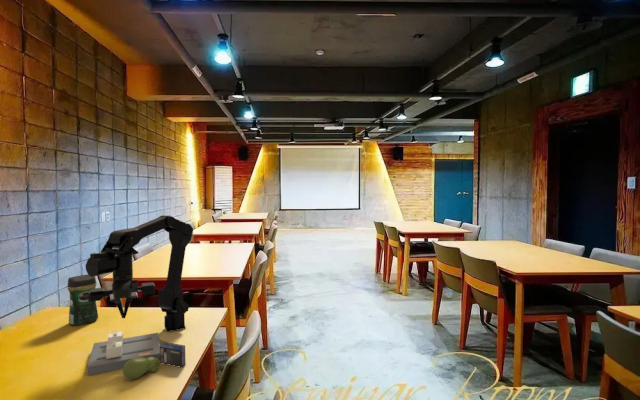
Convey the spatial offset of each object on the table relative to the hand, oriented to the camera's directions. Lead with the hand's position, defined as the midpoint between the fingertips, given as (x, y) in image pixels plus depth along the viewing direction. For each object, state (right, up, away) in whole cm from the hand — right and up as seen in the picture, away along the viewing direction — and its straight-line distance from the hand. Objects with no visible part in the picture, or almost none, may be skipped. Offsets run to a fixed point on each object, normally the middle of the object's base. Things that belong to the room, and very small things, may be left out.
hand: (123, 317), depth 120 cm
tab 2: (+2, -8, -9) cm, 12 cm away
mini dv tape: (+19, -11, -9) cm, 24 cm away
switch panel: (+3, -11, -3) cm, 12 cm away
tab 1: (-2, -8, -1) cm, 8 cm away
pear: (+13, -12, -15) cm, 23 cm away
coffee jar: (-30, -10, +27) cm, 42 cm away
